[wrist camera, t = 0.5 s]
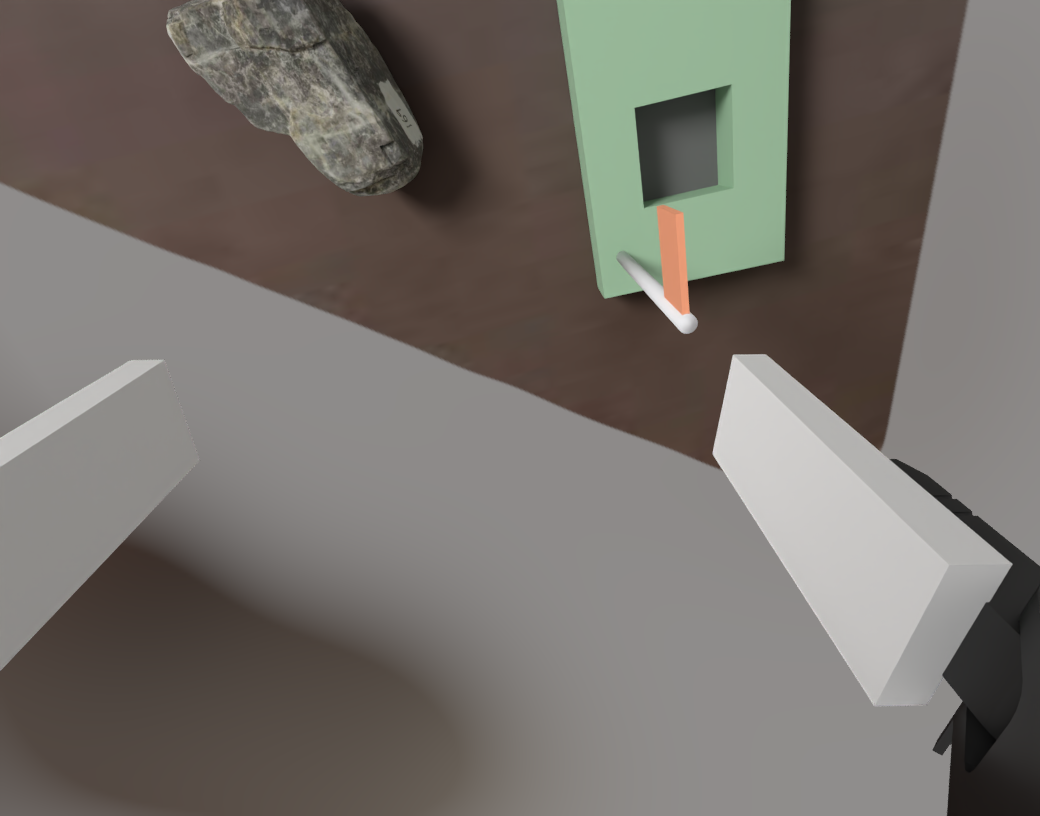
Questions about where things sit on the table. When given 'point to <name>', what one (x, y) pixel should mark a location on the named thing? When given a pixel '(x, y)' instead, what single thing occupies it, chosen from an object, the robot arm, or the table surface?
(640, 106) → the green
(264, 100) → the stone
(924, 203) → the table surface
